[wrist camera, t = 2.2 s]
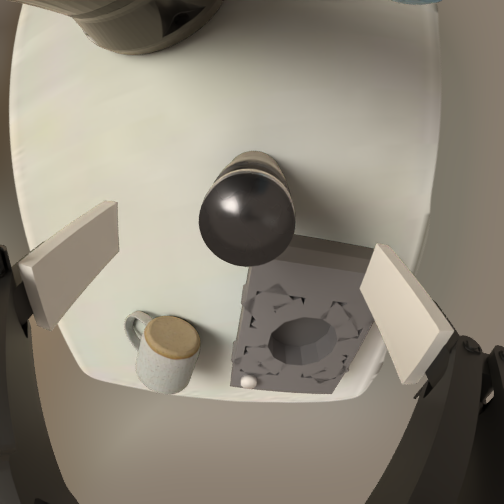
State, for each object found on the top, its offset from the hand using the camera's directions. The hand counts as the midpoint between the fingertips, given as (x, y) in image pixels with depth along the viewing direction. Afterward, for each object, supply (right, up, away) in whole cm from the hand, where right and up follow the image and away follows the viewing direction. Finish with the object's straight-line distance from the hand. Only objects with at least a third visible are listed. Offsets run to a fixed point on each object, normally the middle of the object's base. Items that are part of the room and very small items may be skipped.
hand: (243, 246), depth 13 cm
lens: (+1, +7, +12) cm, 14 cm away
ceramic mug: (-11, -11, +22) cm, 27 cm away
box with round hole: (+6, -7, +19) cm, 21 cm away
